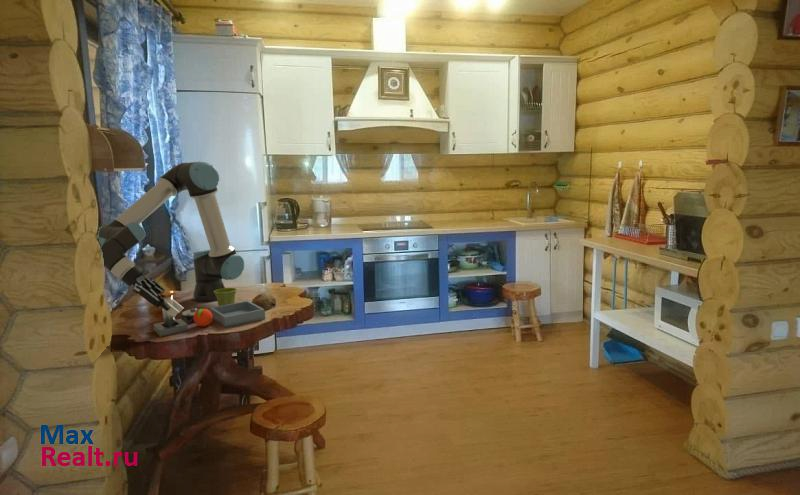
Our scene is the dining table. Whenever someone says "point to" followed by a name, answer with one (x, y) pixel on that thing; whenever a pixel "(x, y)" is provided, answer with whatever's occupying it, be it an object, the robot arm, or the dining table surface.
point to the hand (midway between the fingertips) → (179, 312)
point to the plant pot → (225, 296)
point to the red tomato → (203, 317)
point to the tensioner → (180, 324)
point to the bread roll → (264, 301)
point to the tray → (237, 313)
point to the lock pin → (167, 317)
